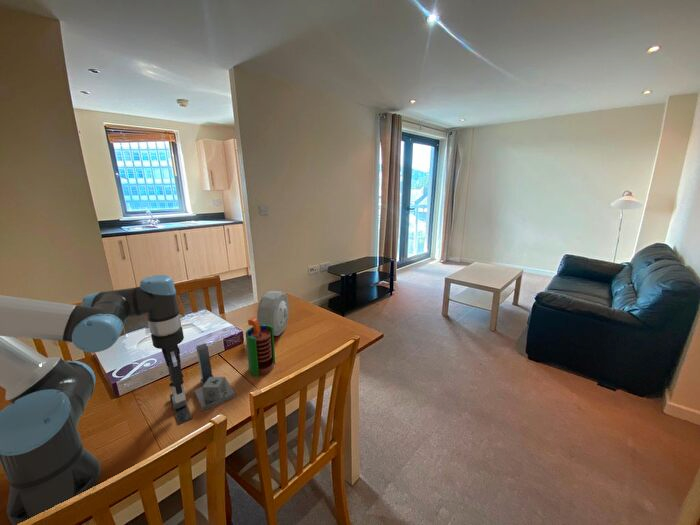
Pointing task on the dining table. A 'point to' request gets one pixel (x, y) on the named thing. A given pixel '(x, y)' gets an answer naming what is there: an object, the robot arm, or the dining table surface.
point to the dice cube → (214, 388)
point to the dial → (274, 311)
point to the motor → (260, 348)
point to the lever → (179, 404)
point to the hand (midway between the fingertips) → (180, 399)
